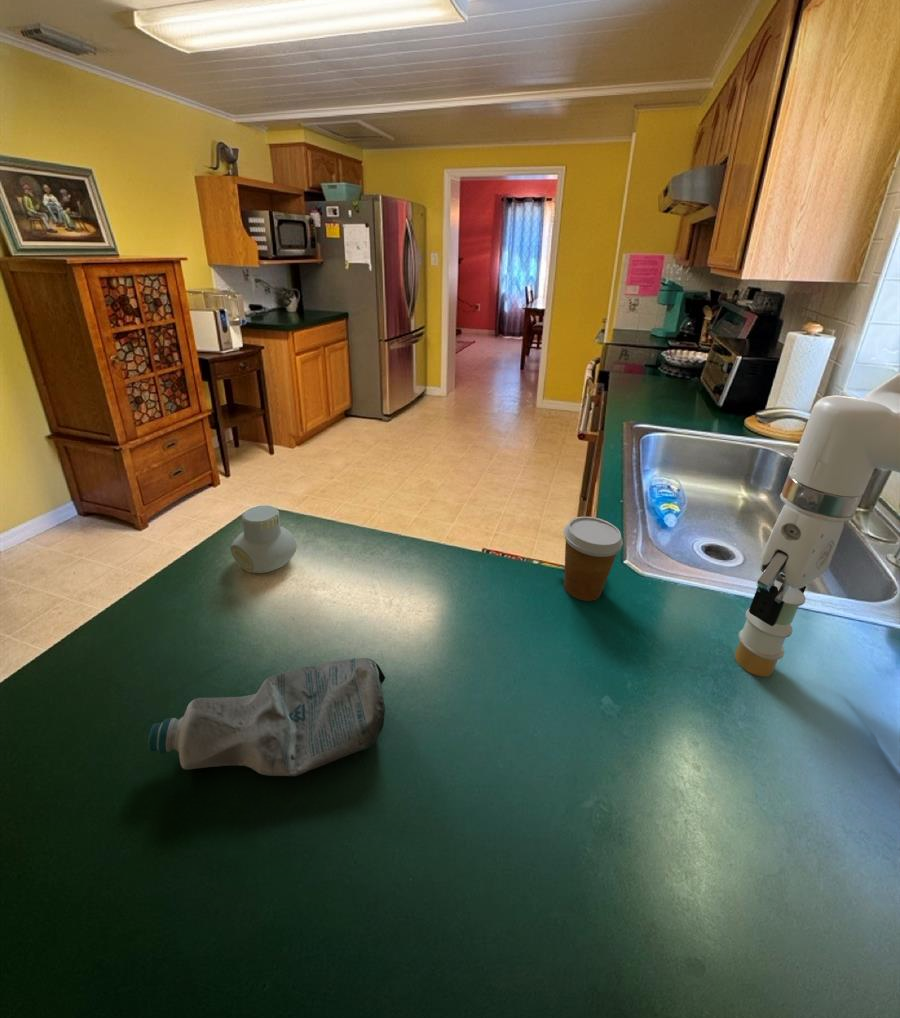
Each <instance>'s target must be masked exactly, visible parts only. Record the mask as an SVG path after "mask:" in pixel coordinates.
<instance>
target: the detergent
mask: <svg viewBox="0 0 900 1018" xmlns="http://www.w3.org/2000/svg"><path fill="white" fill-rule="evenodd" d="M385 679H386V676H385V674H384V672H383V671H382V669H381V667H380V666H379V664H378V663H377V662H376V661H375V660H374V659H371V658H368V657H357V658H355V657H354V658H349V659H344V660H343V659H341V660H336V661H334V660H333V661H326V662H321V663H316V664H312V665H308V666H301V667H296V668H292V669H288V670H284V671H282V672H280V673H276V674H273V675H271V676H269V677H267V678H266V679H264V681H263V682H262V683H261V686H260V688H259V689H258V691H257V692H256V693H252V694H248V695H243V696H224V697H223V696H222V697H221V696H219V697H196V698H194V699H192V700H191V701H190V702H189V703H188V705H187V707H186V710H185V712H184V714H183V716H181V717H180V718H179V719H178V718H176V717H170V718H165V719H164V720H163V722H162V721H161V722H155V723H153V724H152V726H151V727H150V731H149V734H148V741H147V745H148V746H147V747H148V748H147V749H148V751H149V752H157V753H160V755H161V754H167V753H170V752H171V751H174V750H176V751H177V752H178V759H179V764H180V767H181V768H182V769H183V770H195V769H204V768H206V769H207V768H213V767H215V768H216V767H224V766H226V767H229V766H240V767H243V766H244V767H247V768H250V769H252V770H253V771H255V773H258V774H260V775H263V776H267V777H268V776H269V777H297V776H300V775H302V774H305V773H307V772H310V771H311V770H315V769H317V768H319V767H322V766H325V765H327V764H330V763H332V762H335V761H337V760H340V759H342V758H344V757H347V756H350V755H352V754H355V753H358V752H361V751H363V750H367V749H369V748H370V747H372V746H373V745H374V744H375V743H376V742H377V740H378V738H379V736H380V734H381V732H382V730H383V728H384V724H385V712H386V709H385V708H386V706H385V699H384V694H383V693H384V692H383V683H384V681H385Z"/></svg>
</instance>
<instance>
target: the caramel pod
mask: <svg viewBox="0 0 900 1018" xmlns="http://www.w3.org/2000/svg"><path fill="white" fill-rule="evenodd" d="M742 631H743V629H741V630H740V631H739V633H738V640H739V642H738V645H737V648H736V650H735V653H734V658H735V661H736V662H737V664H738V665H739V666H740V667H741V669H743V670H745V671H746V672H748V673H750V674H752V675H754V676H757V677H762V678H763V677H765V678H766V677H769V676H771V675H772V674H773V672H774V670H775V667H776V665H777V662H778V661H779V660H780V659H782V658H783V657H784V655H785V649H784V647H783V646H782V648H781V650H780V652H779V654H777V655H773V656H771V655H765V654H762V653H759V652H757V651H755V650H753V649H752V648H750V647H749V646H748V645H747V644H746V643H745V642H744V641H743V639H742V636H741V634H742Z"/></svg>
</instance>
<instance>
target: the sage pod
mask: <svg viewBox="0 0 900 1018" xmlns="http://www.w3.org/2000/svg"><path fill="white" fill-rule="evenodd" d="M758 580H759V578H758V579H757V581H756V588H757V587H758ZM781 585H782V583H781V582H779V581H777V580H775V582H774V586H776V587H777V588H778V591H779V589H780V587H781ZM782 601H784V605H783V607H782V610H781V612H780V615H779V617H778V619H777V622H776V624H778V625H789V624H790V625H791V624H792V623H793V621H794V619H795V616H796V613H797V611H798V609H799V607H801V606H804V605H805V603H806V595H805V593H804V594H803V593H802V592H801V591H800V590H799V589H794V588H792V586H789V588H788V590H787V592H786V593H785V595H784V597H783V599H782Z"/></svg>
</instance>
